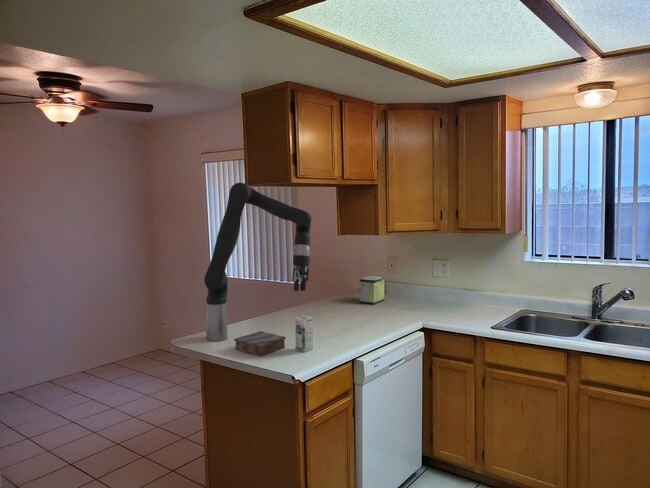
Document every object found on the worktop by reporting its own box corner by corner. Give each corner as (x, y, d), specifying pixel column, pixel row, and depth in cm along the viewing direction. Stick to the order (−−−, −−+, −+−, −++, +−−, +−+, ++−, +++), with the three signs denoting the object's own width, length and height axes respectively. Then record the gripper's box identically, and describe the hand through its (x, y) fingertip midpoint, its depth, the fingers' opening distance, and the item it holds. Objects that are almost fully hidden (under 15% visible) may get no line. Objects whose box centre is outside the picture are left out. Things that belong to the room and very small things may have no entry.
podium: (234, 350, 212) (234, 338, 212) (260, 341, 225) (260, 331, 224) (260, 357, 202) (259, 345, 202) (286, 348, 215) (286, 337, 214)
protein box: (384, 300, 316) (384, 277, 314) (373, 305, 302) (374, 280, 301) (370, 299, 321) (370, 275, 320) (359, 303, 308) (359, 279, 307)
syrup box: (294, 349, 212) (294, 317, 211) (304, 347, 216) (304, 315, 215) (303, 352, 208) (303, 319, 207) (313, 349, 212) (313, 317, 211)
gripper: (288, 255, 226) (286, 290, 224) (299, 253, 213) (296, 290, 211) (303, 257, 229) (301, 291, 227) (315, 254, 216) (312, 291, 214)
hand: (299, 290), depth 219 cm, fingers open, 8 cm apart
